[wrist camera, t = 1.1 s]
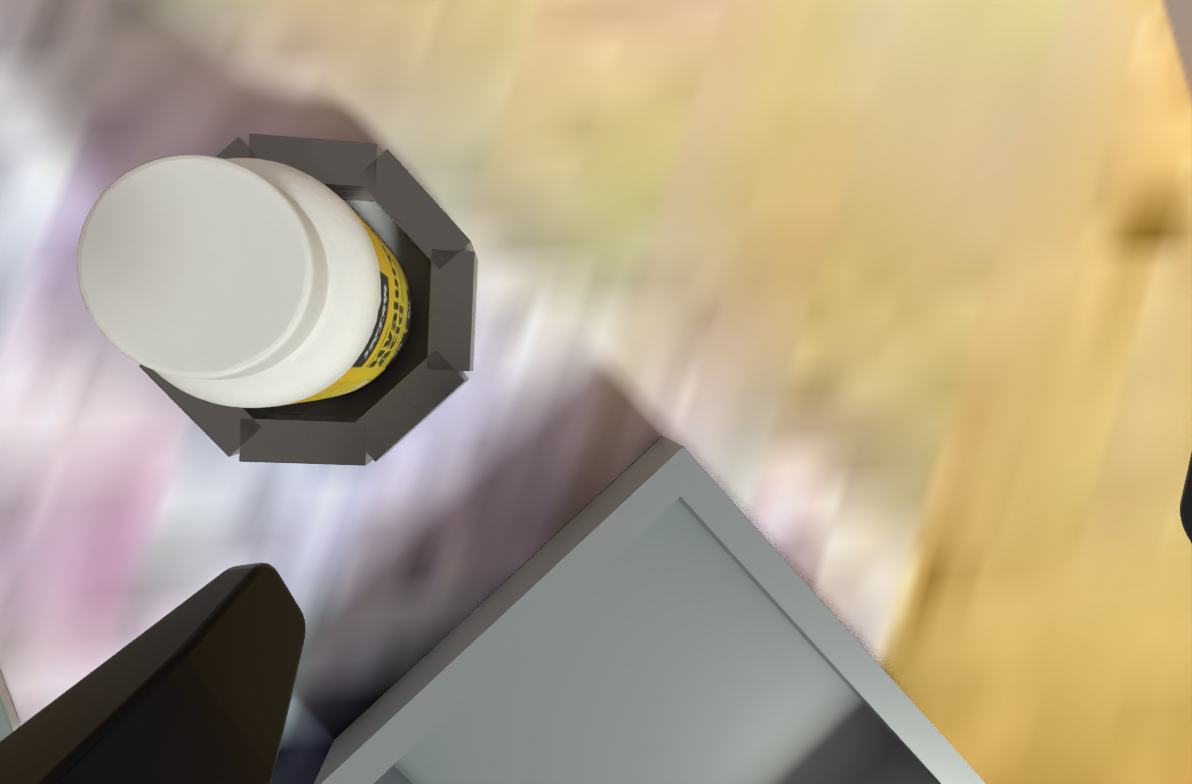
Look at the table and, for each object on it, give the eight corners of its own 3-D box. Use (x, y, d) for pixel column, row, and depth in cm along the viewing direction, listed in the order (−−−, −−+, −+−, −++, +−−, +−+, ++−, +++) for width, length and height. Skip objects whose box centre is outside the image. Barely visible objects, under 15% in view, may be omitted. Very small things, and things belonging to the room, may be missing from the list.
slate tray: (630, 1029, 25) (647, 1120, 22) (334, 740, 23) (308, 795, 20) (930, 734, 26) (985, 783, 23) (662, 436, 24) (683, 446, 21)
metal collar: (318, 514, 23) (300, 529, 21) (102, 295, 22) (62, 288, 20) (535, 318, 24) (537, 315, 22) (333, 95, 23) (316, 70, 21)
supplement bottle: (426, 386, 23) (366, 405, 14) (244, 405, 23) (46, 438, 13) (406, 211, 23) (331, 102, 13) (222, 225, 22) (3, 122, 13)
